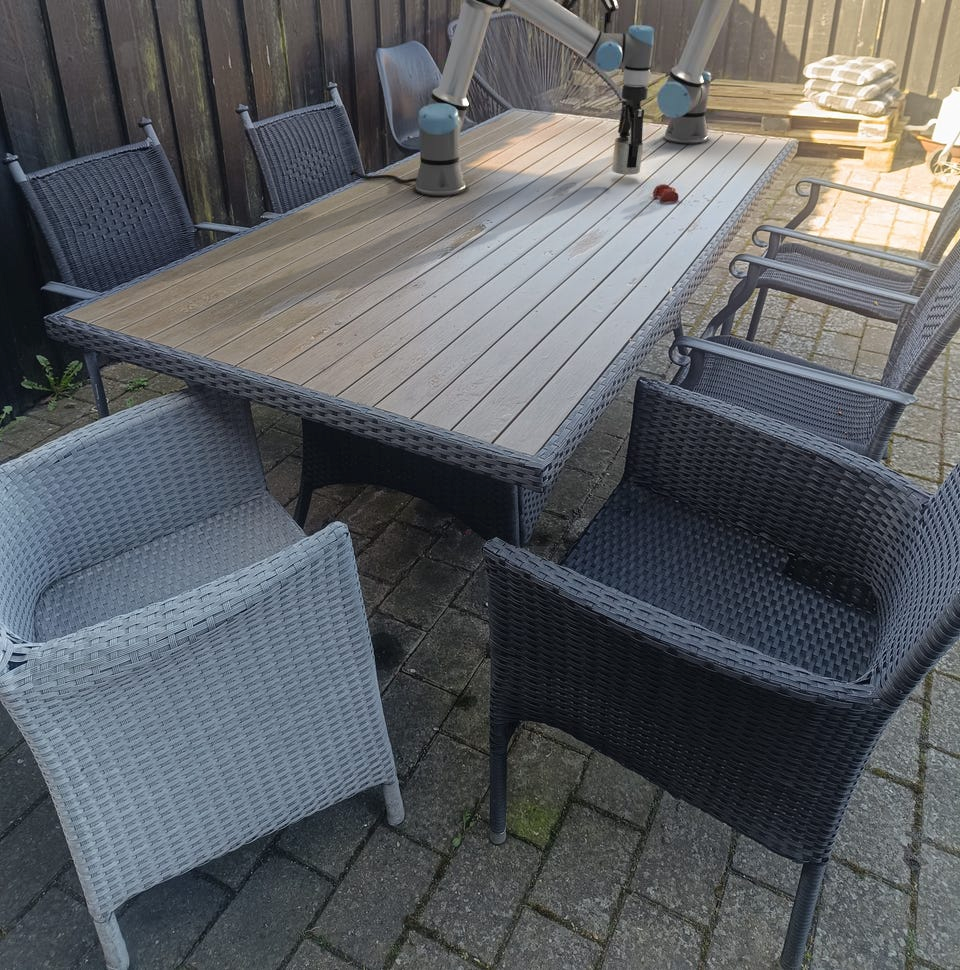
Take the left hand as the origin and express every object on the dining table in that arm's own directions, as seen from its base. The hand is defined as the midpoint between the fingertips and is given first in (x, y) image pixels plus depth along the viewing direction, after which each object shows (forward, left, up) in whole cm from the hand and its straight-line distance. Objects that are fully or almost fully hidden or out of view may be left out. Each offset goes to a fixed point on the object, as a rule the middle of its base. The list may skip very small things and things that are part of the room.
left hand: (626, 163), depth 264 cm
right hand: (-44, +41, +29) cm, 67 cm away
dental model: (+20, -10, -5) cm, 23 cm away
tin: (0, 0, -2) cm, 2 cm away
